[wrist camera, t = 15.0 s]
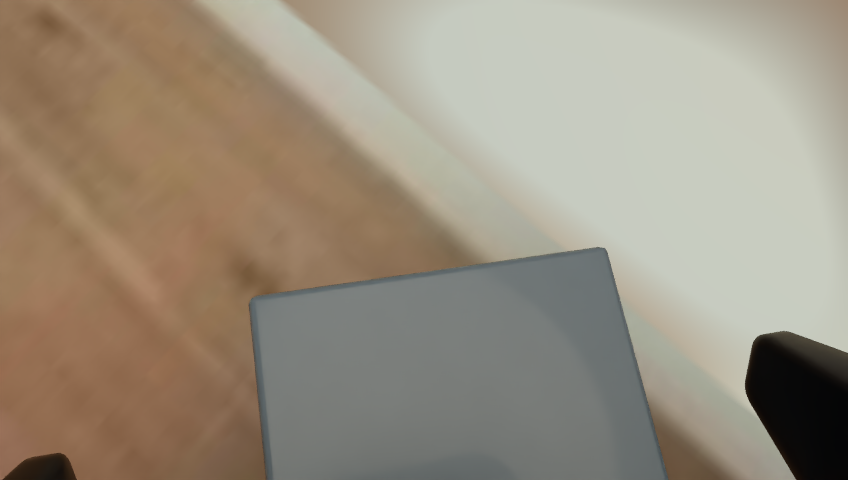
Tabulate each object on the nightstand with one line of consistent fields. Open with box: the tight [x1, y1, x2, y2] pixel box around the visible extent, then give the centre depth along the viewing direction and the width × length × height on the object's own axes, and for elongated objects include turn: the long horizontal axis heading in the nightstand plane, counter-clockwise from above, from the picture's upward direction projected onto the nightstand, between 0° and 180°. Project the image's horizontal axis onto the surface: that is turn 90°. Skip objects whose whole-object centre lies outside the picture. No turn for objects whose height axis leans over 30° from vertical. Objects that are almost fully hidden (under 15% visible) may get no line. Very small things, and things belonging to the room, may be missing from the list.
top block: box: [249, 247, 668, 480], centre depth 10 cm, size 4×4×7 cm
